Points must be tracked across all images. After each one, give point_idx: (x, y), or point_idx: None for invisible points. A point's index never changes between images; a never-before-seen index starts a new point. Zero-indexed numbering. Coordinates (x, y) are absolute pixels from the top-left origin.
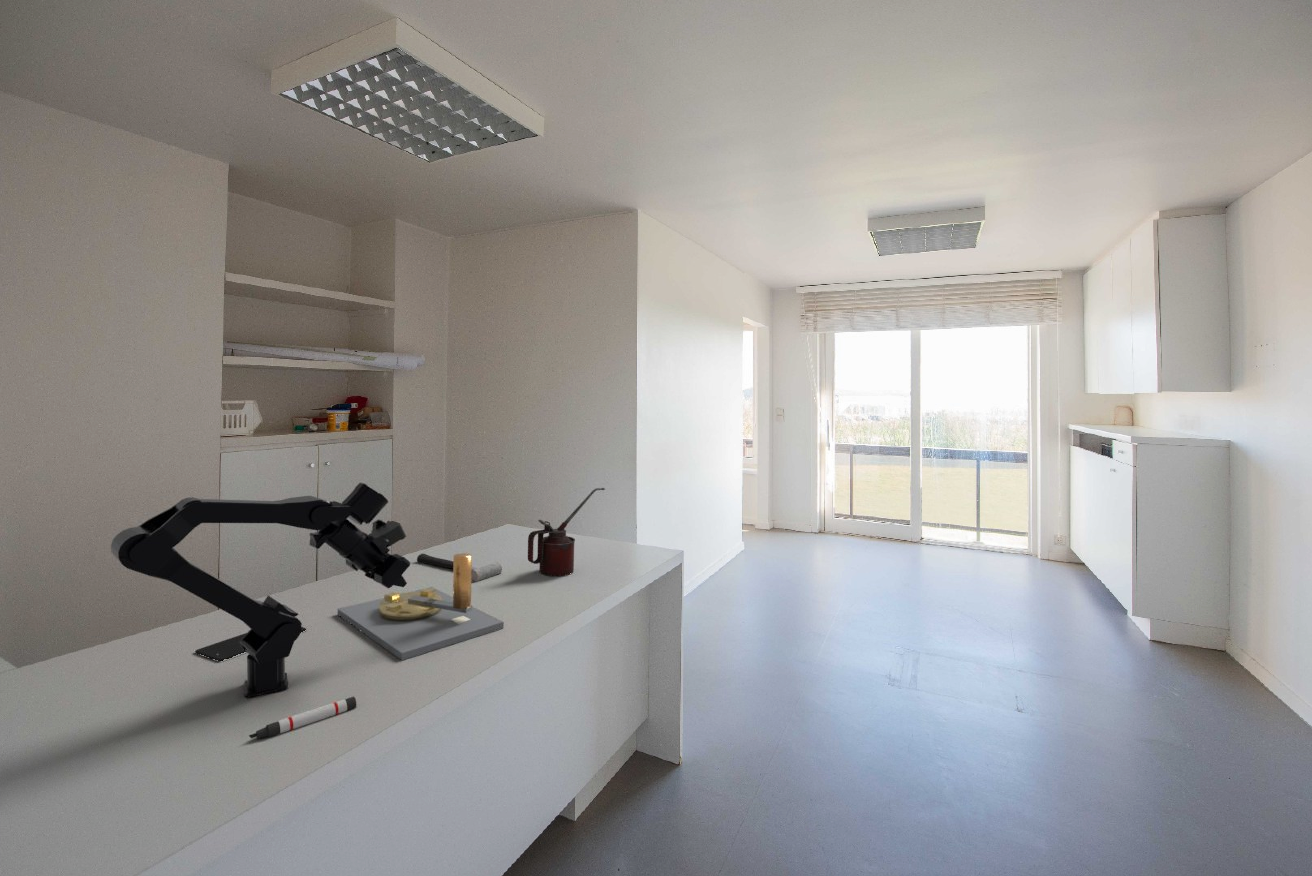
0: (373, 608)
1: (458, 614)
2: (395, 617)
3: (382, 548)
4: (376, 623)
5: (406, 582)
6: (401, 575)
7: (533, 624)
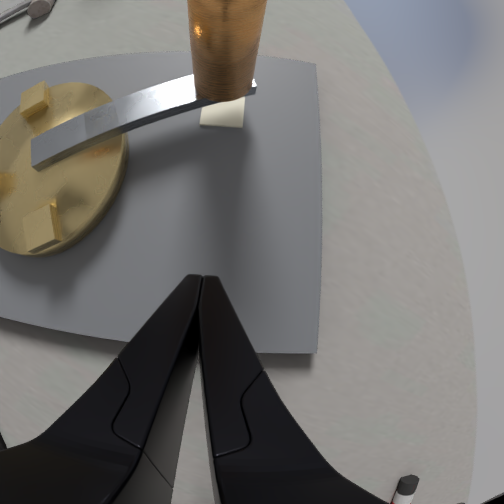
0: None
1: None
2: (73, 241)
3: None
4: (55, 291)
5: (219, 280)
6: (254, 351)
7: (334, 39)
